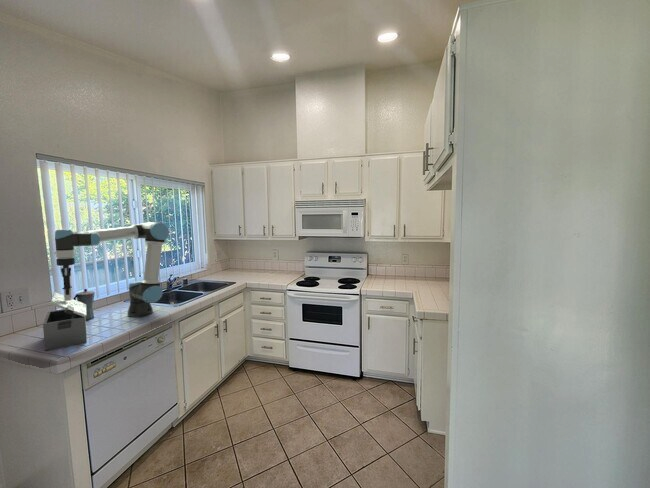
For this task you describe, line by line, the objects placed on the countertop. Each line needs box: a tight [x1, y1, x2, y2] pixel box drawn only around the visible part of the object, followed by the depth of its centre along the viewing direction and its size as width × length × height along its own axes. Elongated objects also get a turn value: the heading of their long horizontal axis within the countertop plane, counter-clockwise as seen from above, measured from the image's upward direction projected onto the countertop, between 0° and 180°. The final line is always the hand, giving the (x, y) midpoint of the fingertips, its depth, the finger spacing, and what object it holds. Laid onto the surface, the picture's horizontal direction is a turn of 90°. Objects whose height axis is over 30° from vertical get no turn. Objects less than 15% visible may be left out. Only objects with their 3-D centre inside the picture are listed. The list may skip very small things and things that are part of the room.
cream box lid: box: [49, 291, 86, 317], centre depth 161 cm, size 16×34×3 cm
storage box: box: [42, 309, 88, 352], centre depth 162 cm, size 16×30×14 cm, turn 39°
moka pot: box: [72, 288, 95, 321], centre depth 197 cm, size 10×15×20 cm, turn 2°
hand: (68, 300), depth 164 cm, fingers closed
